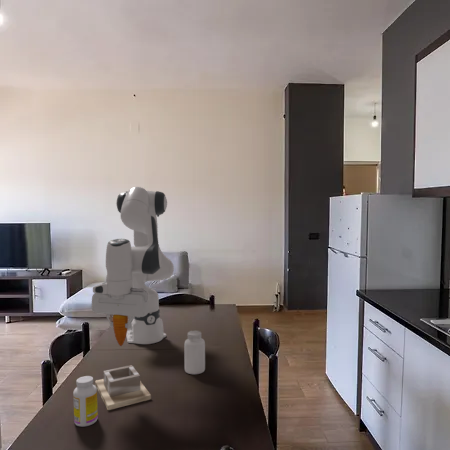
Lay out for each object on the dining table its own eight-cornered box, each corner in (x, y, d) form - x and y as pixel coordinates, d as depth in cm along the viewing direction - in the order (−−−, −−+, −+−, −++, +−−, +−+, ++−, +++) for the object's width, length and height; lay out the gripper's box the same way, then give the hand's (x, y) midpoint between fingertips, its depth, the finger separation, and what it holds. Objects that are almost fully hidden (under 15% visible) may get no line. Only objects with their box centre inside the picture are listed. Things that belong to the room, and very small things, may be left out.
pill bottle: (186, 376, 146) (186, 336, 145) (183, 367, 154) (182, 330, 153) (207, 373, 148) (206, 334, 147) (202, 365, 156) (202, 328, 155)
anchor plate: (95, 384, 140) (94, 367, 139) (133, 376, 146) (133, 359, 146) (107, 410, 122) (107, 390, 122) (150, 399, 129) (150, 380, 129)
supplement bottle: (100, 415, 120) (99, 374, 119) (94, 427, 113) (93, 384, 112) (78, 415, 119) (77, 374, 119) (70, 428, 113) (69, 384, 112)
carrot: (122, 342, 137) (121, 300, 136) (131, 345, 134) (130, 302, 133) (110, 346, 133) (109, 303, 132) (119, 349, 130) (118, 305, 129)
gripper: (151, 286, 133) (152, 326, 133) (99, 283, 138) (100, 322, 139) (143, 290, 126) (143, 332, 127) (88, 287, 132) (89, 327, 133)
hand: (120, 327), depth 133 cm, fingers closed on carrot, 4 cm apart
